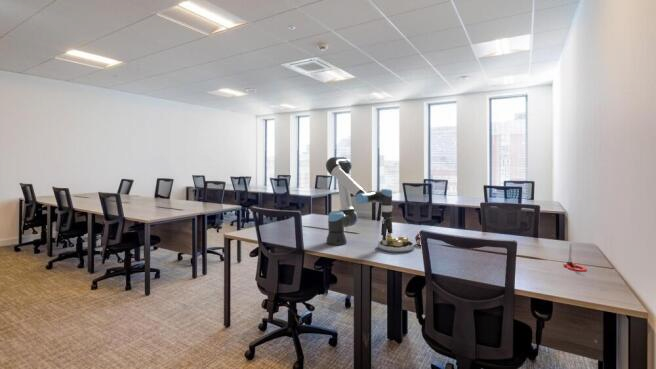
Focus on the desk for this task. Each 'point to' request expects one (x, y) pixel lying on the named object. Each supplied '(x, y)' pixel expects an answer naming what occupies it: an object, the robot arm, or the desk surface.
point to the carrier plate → (397, 245)
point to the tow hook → (570, 263)
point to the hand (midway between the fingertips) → (387, 243)
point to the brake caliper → (417, 240)
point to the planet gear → (388, 240)
